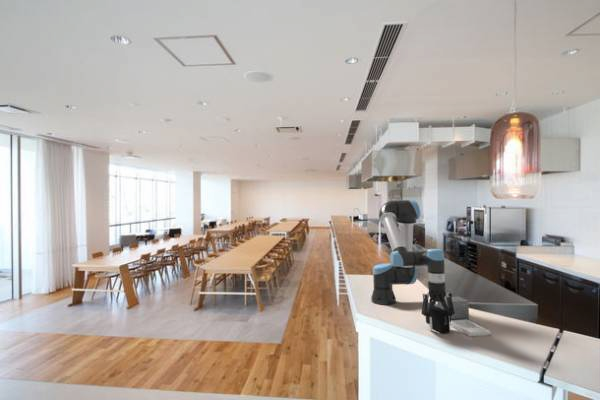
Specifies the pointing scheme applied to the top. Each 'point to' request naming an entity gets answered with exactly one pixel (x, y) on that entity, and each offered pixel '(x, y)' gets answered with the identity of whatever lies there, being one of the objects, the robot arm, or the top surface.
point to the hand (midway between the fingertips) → (438, 329)
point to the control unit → (458, 308)
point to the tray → (469, 328)
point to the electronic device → (440, 320)
